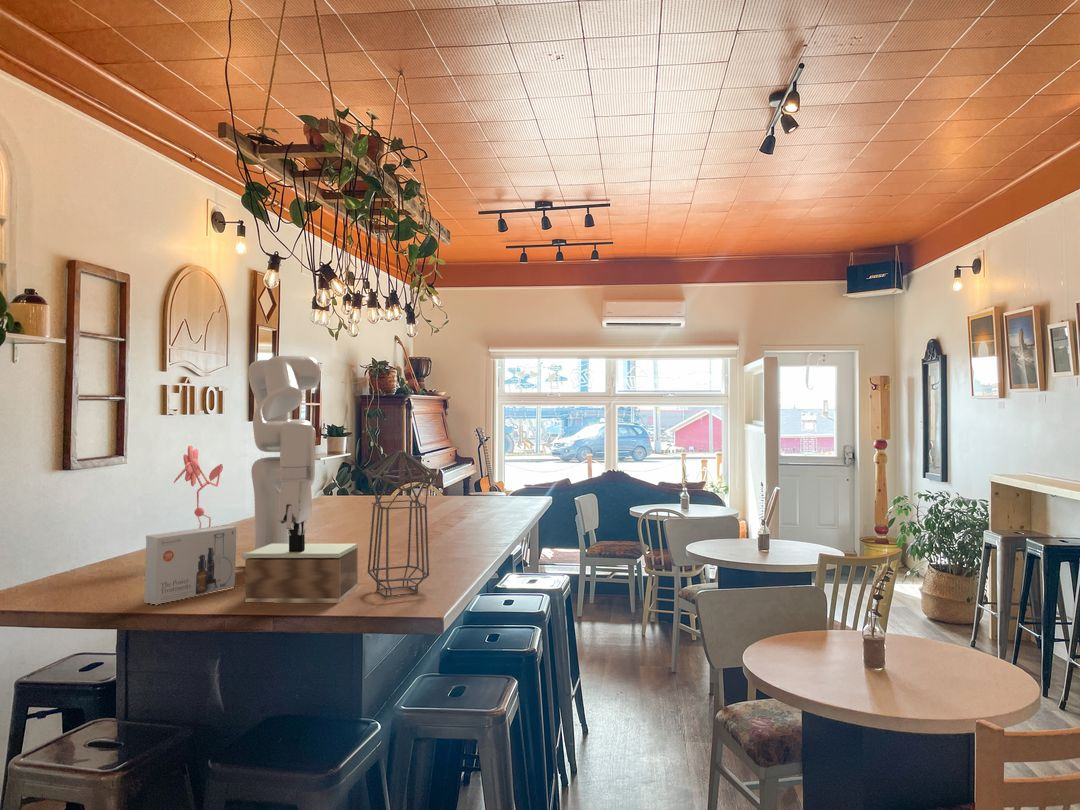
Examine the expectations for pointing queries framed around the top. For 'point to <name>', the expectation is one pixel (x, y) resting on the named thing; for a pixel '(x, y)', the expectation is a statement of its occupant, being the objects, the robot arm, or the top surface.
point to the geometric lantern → (386, 462)
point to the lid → (309, 551)
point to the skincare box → (189, 563)
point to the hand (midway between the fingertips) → (296, 551)
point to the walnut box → (301, 579)
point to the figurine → (195, 471)
